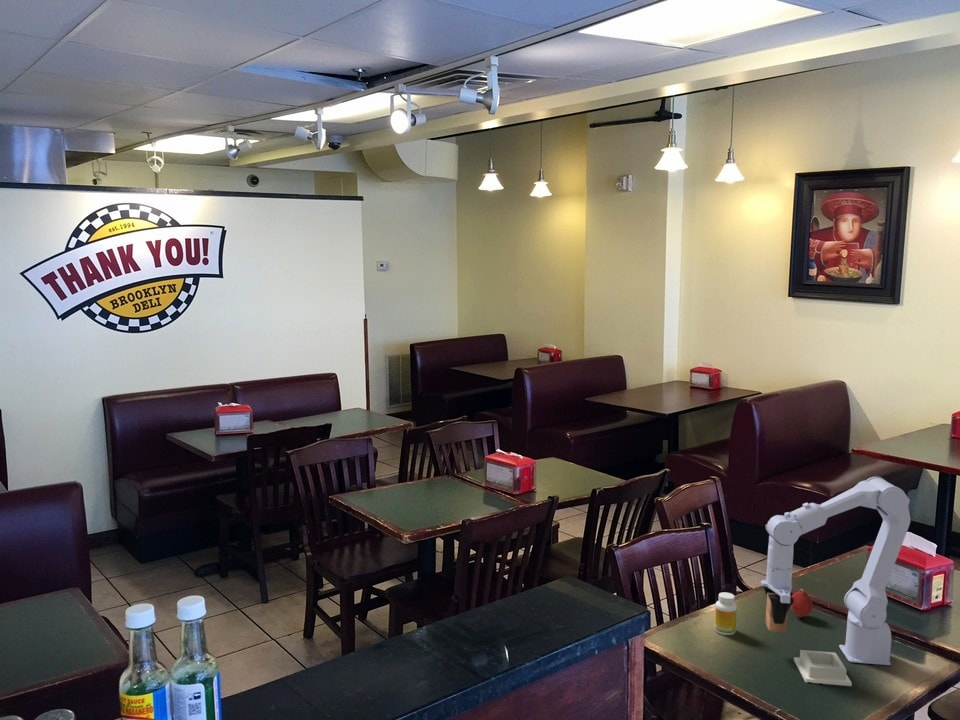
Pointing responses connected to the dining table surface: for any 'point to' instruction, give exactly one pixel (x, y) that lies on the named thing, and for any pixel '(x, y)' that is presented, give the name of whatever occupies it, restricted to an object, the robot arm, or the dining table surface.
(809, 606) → the onion
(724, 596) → the supplement bottle
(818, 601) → the dining table surface
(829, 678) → the socket
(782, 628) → the peg
